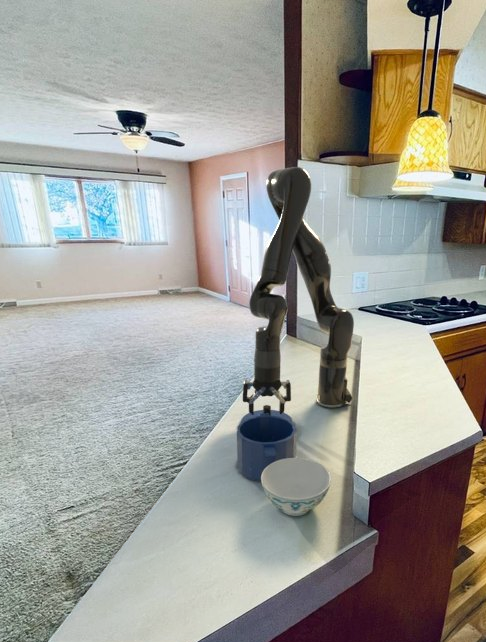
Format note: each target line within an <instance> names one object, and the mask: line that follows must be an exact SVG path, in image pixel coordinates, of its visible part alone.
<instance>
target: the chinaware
mask: <svg viewBox="0 0 486 642" xmlns="http://www.w3.org/2000/svg"><path fill="white" fill-rule="evenodd" d="M260 482H261V486H262V489H263V492H264V494H265V496H266V498H267V499H268V501H269V502H270V503H271V504H272V506H273V507H276V508H277V509H279V510H281V511H282V512H283V513H284V514H286V515H288V516H293V517H298V516H303V515H305V514H306V513H307V512H309V511H311V510H313V509H315V508H316V507H317V506H319V504H321V503H322V501H323V500H324V499H325V498H326V496H327V494H328V492H329V489H330V488H331V487H330V486H331V483H332V476H331V474H330V471H329V469H327V468H326V467H325V466H324V465H323V464H321V463H319V462H317V461H315V460H313V459H307V458H303V457H296V458H287V459H282V460H278V461H276V462H273V463H271V464H270V465H268V466H267V467H266V468H265V469H264V471H263V472H262V475H261V481H260Z"/></svg>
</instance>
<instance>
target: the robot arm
mask: <svg viewBox="0 0 486 642" xmlns="http://www.w3.org/2000/svg"><path fill="white" fill-rule="evenodd" d="M265 187H266V193H267V196H268V199H269V201H270V205H271V207H272V208H273V210H274V212H275V214H276V216H277V218H278V220H279V221H278V224H277V226H276V228H275V230H274V231H273V234H272V235H271V237H270V239H269V241H268V243H267V246H266V247H265V250H264V254H263V259H262V265H261V271H260V275H259V277H258V279H257V282H256V283H255V286H254V288H253V291H252V293H251V295H250V297H249V303H248V306H249V311H250V313H251V315H252V316H254V317H256V318H259V319H263V320H268V323H267V325H263V326H259V327H257V329H256V330H255V335H254V336H255V337H254V338H255V340H254V341H255V342H254V345H255V346H254V355H253V356H254V357H253V362H254V364H253V367H254V368H253V371H254V372H253V373H254V374H253V376H254V377H253V381H248V380H246V379H245V380H243V385H242V402H243V403H247V404H248V413H251V415H254V411H255V401H256V400H258V398H259V397H260V396H261V397H263V398H264V397H273V396H275V397H276V399H278V401H279V404H278V411H279V413H280V414H282V412H284V413H285V406H286V405H285V404H286V402H291V401H292V385H291V384H292V383H291V381H290V380H289V379H287V380H285V381H281V361H282V360H281V359H282V357H281V334H282V332H283V331H282V330H283V328H284V324H285V321H286V319H287V315H288V303H287V300H286V299H285V297H284V296H283V295H280V294H275V293H272V291H273V289H274V288H276V287H281V286H284V285H285V284H286V283H287V278H288V275H289V274H288V273H289V268H290V263H291V257H292V253H293V255H294V259H295V262H296V265H297V267H298V269H299V271H300V275H301V277H302V279H303V282H304V285H305V288H306V290H307V292H308V295H309V297H310V300H311V304H312V307H313V311H314V315H315V319H316V322H317V326H318V328H319V329H320V330H321V331H322V332H323V333H325V334H327V335H328V341H327V343H326V344H323V345H322V346H321V347H320V350H319V367H318V384H317V387H318V388H317V394H316V397H317V399H316V403H317V404H318V405H319V406H320V407H324V408H329V409H337V408H341V407H342V406H343V407H344V406H346V403H348V404H350V403H351V402H352V400H353V396H352V394H351V392H350V391H349V390H348V379H347V368H348V356H349V352H350V350H351V347H352V341H353V335H354V328H355V327H354V326H355V322H354V321H355V320H354V316H353V314H352V313H351V312H350V311H349V310H346V309H344V308H341V307H338V306H337V304H336V302H335V301H334V298H333V295H332V292H331V286H330V285H331V278H332V267H331V262H330V259H329V256H328V252H327V250H326V248H325V245H324V243H323V242H322V240H321V238H319V236H318V235H317V234H316V233H315V231H313V229H312V228H311V227H310V226H309V224H308V223H307V222H306V220H305V219H304V215H305V212H306V210H307V206H308V203H309V200H310V197H311V194H312V180H311V177H310V175H309V173H308V172H307V171H306V169H304V168H302V167H300V166H291V167H286V168H281V169H276V170H274V171H272V172H270V173H269V174H268V176H267V178H266V185H265ZM252 387H253V389H254V390H253V392H252V394H250V396H248V391H249V390H251V388H252ZM282 387H283V389H284V390H285V395H283V394H282V393H281V391H280V389H281V388H282Z"/></svg>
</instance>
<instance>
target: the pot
mask: <svg viewBox="0 0 486 642" xmlns="http://www.w3.org/2000/svg"><path fill="white" fill-rule="evenodd" d="M297 432H298V429H297V425H296V424H295V423H294V422H293V423H292V422H291V421H290V420H288V419H285V418H283V417H278V416H271V415H269V414H268V413H260V414H259V416H256V417H251V418H248V419H246V420H244V421H242V422H241V421H240V423H239V424H238V425H237V426H236V457H237V469H238V472H239V473H240V474H241V475H242V476H243V477H245V478H247V479H249V480H252V481H256V482H261V475H262V472H263V471H264V469H265V468H266V467H267V466H268V465H270V464H271V463H273V462H276V461H278V460H282V459H287V458H297V438H298V437H297V436H298V433H297Z"/></svg>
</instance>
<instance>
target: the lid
mask: <svg viewBox="0 0 486 642" xmlns="http://www.w3.org/2000/svg"><path fill="white" fill-rule="evenodd" d="M260 413H268V414H269V415H271V416H278V417H283V418H285V419H288V420H290V421H291V422H292V423H294V422H293V418H292V417H291V416H290V415H289V414H288V413H286V412H285V411H284V412H282V414H280V413H279V410H275V409H272V405H269V404H265V405H263V407H262V409H259V410H254V415H251V413H249V412H248V413H246V414H244V416H242V418H241V420H240V423H241V422H242V421H244V420H246V419H248V418H251V417H256V416H259V414H260Z"/></svg>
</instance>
